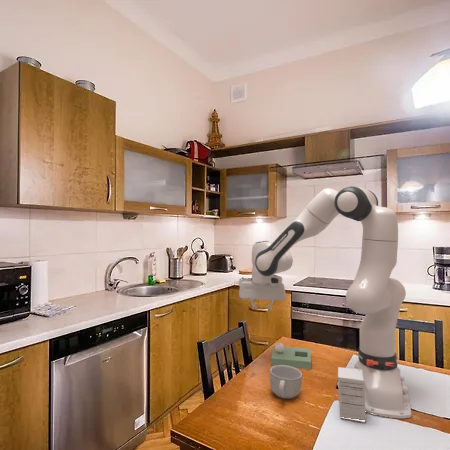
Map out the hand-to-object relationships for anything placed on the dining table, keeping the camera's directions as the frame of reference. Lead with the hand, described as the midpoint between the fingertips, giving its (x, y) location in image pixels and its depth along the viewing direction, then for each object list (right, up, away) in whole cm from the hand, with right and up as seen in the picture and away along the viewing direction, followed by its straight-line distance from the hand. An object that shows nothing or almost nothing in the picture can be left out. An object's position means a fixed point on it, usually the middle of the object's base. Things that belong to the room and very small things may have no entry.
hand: (262, 309), depth 141 cm
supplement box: (+22, -21, -43) cm, 53 cm away
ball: (+7, -16, -2) cm, 18 cm away
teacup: (+4, -21, -32) cm, 39 cm away
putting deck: (+12, -21, -3) cm, 24 cm away
